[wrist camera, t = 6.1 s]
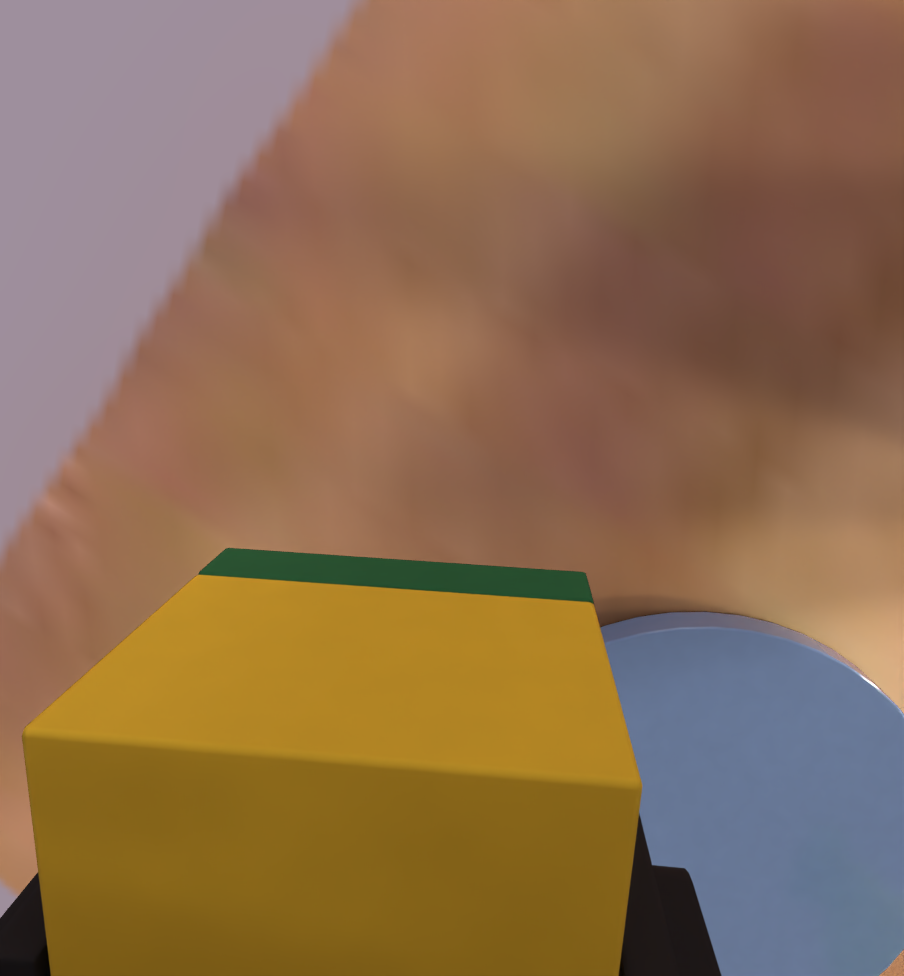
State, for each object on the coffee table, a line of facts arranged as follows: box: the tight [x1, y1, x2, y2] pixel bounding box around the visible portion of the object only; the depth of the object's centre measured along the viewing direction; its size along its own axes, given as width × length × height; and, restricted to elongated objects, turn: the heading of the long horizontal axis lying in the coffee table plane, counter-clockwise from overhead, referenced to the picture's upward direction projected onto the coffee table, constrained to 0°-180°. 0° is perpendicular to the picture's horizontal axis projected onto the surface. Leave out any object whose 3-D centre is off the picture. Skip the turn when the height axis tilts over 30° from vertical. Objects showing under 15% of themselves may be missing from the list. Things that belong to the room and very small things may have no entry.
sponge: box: [22, 548, 643, 976], centre depth 9 cm, size 8×5×4 cm, turn 178°
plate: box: [600, 612, 904, 976], centre depth 24 cm, size 16×16×1 cm
